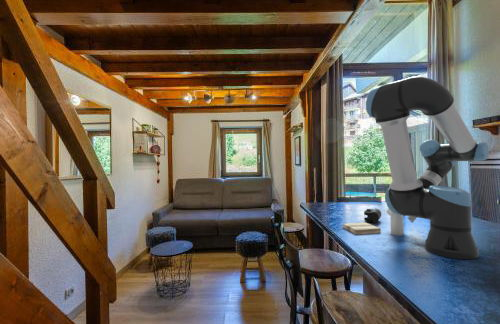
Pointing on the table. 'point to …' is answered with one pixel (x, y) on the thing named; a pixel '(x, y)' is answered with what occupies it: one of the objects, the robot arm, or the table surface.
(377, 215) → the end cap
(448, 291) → the table surface
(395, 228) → the white bottle
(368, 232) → the oak board
